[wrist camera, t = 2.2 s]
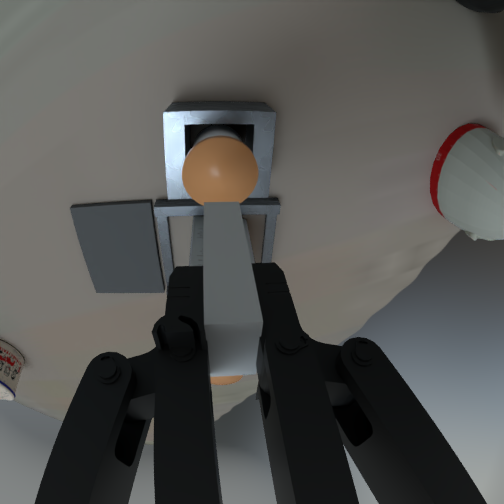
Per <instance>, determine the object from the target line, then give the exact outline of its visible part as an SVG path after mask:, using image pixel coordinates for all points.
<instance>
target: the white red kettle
mask: <svg viewBox="0 0 504 504" xmlns="http://www.w3.org/2000/svg"><path fill="white" fill-rule="evenodd" d="M430 193H431V197H432V202H433V204H434V206H435V207H436V209H437V211H438V212H439V213H440V214H441V215H442V216H443V217H444V218H445V219H447V220H448V221H450V222H451V223H452V224H454V225H455V226H457V227H458V228H460V229H462V230H464V231H465V233H466V234H467V235H468V236H469V237H471V238H472V239H473V240H476V239H477V238H482V239H486V240H489V241H493V240H504V139H503V138H502V137H500V136H498V135H497V134H496V133H494V132H492V131H491V130H489V129H487V128H485V127H483V126H481V125H479V124H466V125H464V126H461V127H459V128H457V129H456V130H455V131H454V132H453V133H451V134H450V135H449V136H448V137H447V139H446V140H445V142H444V143H443V145H442V146H441V147H440V149H439V152H438V154H437V156H436V158H435V161H434V163H433V168H432V172H431V177H430Z"/></svg>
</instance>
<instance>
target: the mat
mask: <svg viewBox="0 0 504 504" xmlns="http://www.w3.org/2000/svg"><path fill="white" fill-rule="evenodd" d="M70 210H71V214H72V218H73V221H74V225H75V229H76V232H77V236H78V239H79V242H80V246H81V249H82V252H83V255H84V258H85V261H86V264H87V267H88V270H89V273H90V276H91V279H92V282H93V284H94V287H95V290H96V292H97V293H164V291H165V288H164V282H163V277H162V271H161V265H160V259H159V252H158V246H157V239H156V232H155V225H154V217H153V209H152V201H151V200H142V201H124V202H109V203H95V204H83V205H72V206H71V208H70Z"/></svg>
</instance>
